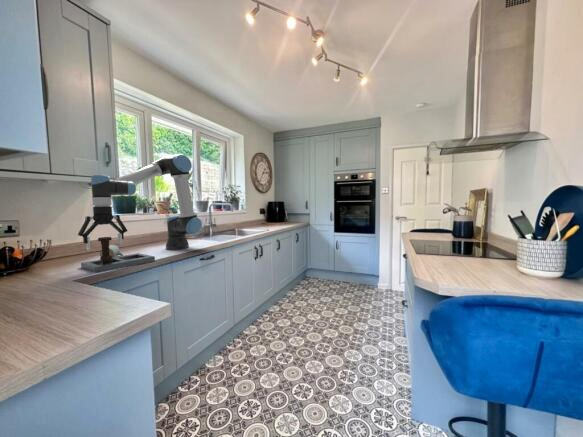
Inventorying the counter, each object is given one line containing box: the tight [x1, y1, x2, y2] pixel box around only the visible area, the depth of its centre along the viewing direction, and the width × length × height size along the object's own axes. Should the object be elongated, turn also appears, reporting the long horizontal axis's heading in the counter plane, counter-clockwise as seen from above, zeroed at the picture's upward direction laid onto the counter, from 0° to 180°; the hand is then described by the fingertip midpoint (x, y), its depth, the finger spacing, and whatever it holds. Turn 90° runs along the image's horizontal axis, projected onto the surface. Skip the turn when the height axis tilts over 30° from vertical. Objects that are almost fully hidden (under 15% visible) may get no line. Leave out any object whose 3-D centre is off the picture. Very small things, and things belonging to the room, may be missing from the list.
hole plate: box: [80, 252, 156, 274], centre depth 129 cm, size 27×19×2 cm
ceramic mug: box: [99, 244, 125, 257], centre depth 144 cm, size 11×8×8 cm
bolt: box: [97, 236, 112, 264], centre depth 124 cm, size 6×5×15 cm
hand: (105, 247), depth 123 cm, fingers open, 13 cm apart
